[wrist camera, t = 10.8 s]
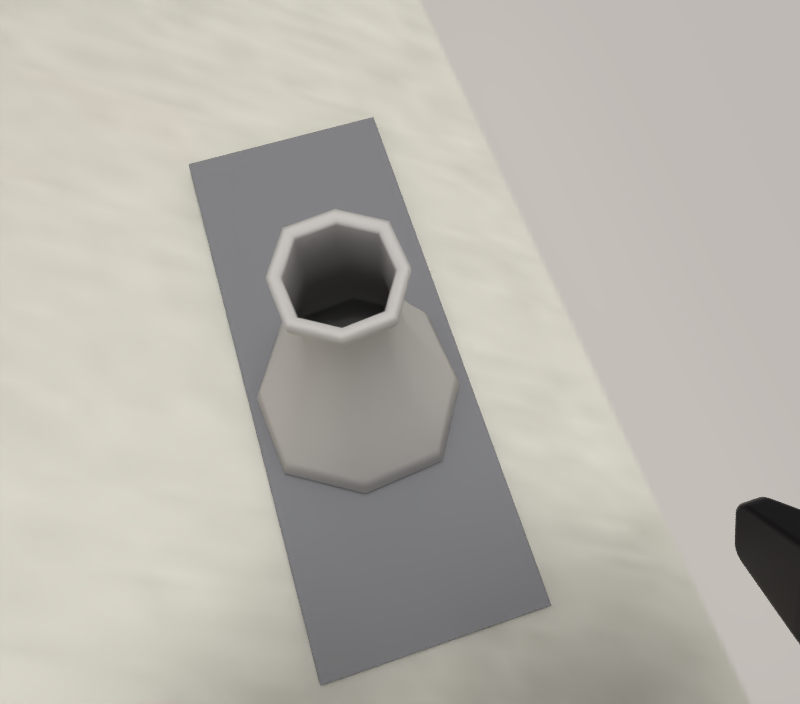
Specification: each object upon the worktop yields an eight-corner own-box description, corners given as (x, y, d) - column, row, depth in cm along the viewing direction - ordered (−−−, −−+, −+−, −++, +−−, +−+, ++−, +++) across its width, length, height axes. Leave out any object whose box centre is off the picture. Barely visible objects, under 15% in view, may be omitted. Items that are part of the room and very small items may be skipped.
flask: (448, 293, 25) (482, 123, 16) (470, 486, 23) (525, 421, 14) (256, 306, 25) (175, 142, 16) (259, 503, 23) (165, 448, 13)
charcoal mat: (547, 604, 22) (551, 605, 22) (322, 683, 21) (320, 685, 21) (373, 124, 28) (373, 117, 28) (192, 171, 28) (188, 164, 27)
